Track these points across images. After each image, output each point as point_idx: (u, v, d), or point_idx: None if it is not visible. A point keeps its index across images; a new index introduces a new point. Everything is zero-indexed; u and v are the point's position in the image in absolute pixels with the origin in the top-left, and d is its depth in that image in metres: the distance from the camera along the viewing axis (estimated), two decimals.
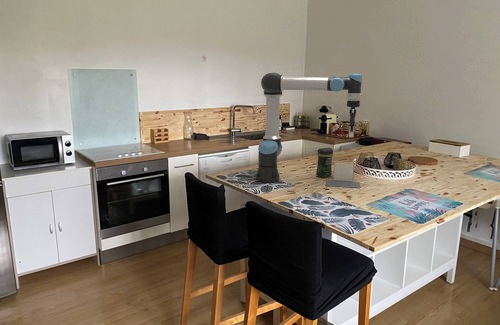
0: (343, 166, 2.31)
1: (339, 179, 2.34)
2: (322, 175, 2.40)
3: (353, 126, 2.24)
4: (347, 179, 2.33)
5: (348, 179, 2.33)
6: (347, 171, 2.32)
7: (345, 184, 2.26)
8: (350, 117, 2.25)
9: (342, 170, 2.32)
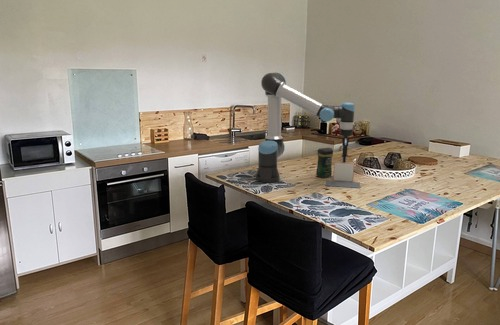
0: (343, 166, 2.31)
1: (339, 179, 2.34)
2: (322, 175, 2.40)
3: None
4: (347, 179, 2.33)
5: (348, 179, 2.33)
6: (347, 171, 2.31)
7: (345, 184, 2.26)
8: None
9: (342, 170, 2.32)
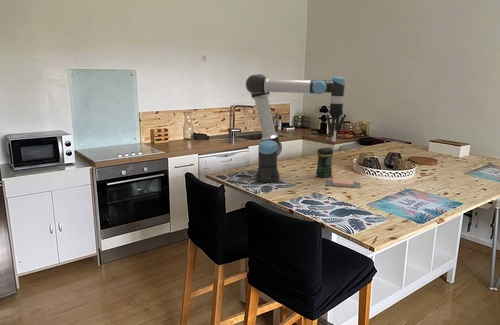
0: None
1: None
2: (322, 175, 2.40)
3: (333, 131, 2.33)
4: None
5: None
6: None
7: None
8: None
9: None
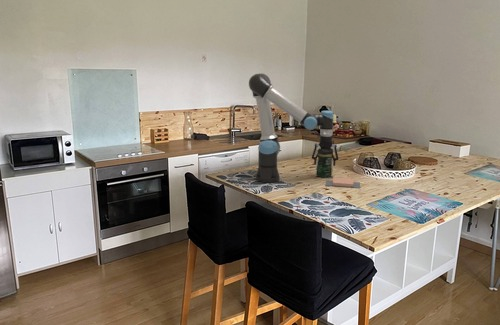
0: None
1: None
2: (322, 175, 2.40)
3: (316, 160, 2.43)
4: None
5: None
6: None
7: None
8: None
9: None
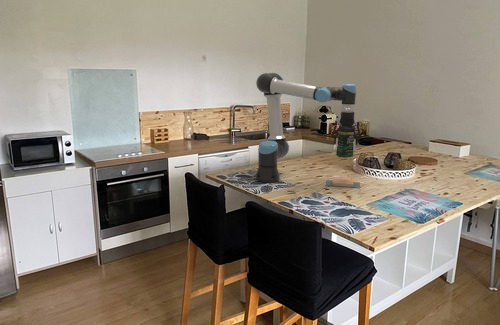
0: None
1: None
2: (343, 155, 2.19)
3: (336, 138, 2.22)
4: None
5: None
6: None
7: None
8: None
9: None
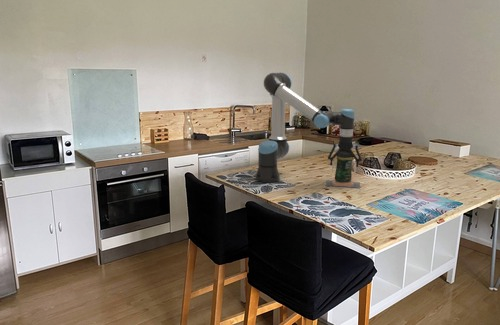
0: None
1: None
2: (341, 180, 2.23)
3: (332, 160, 2.25)
4: None
5: None
6: None
7: None
8: None
9: None
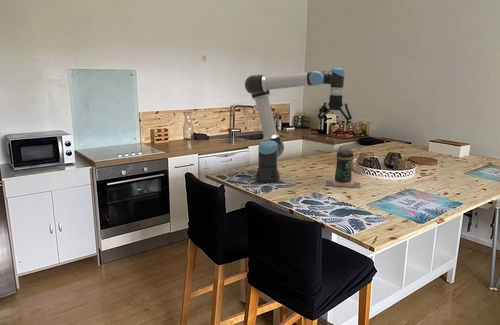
0: None
1: None
2: (341, 180, 2.23)
3: (322, 118, 2.31)
4: None
5: None
6: None
7: None
8: None
9: None
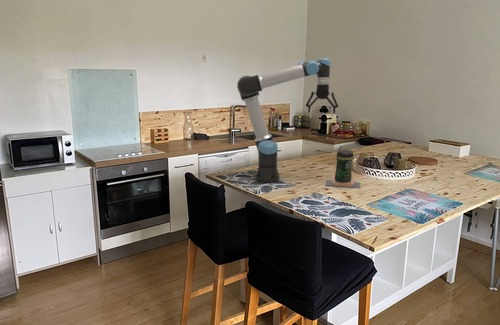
0: None
1: None
2: (341, 180, 2.23)
3: (310, 107, 2.42)
4: None
5: None
6: None
7: None
8: None
9: None
